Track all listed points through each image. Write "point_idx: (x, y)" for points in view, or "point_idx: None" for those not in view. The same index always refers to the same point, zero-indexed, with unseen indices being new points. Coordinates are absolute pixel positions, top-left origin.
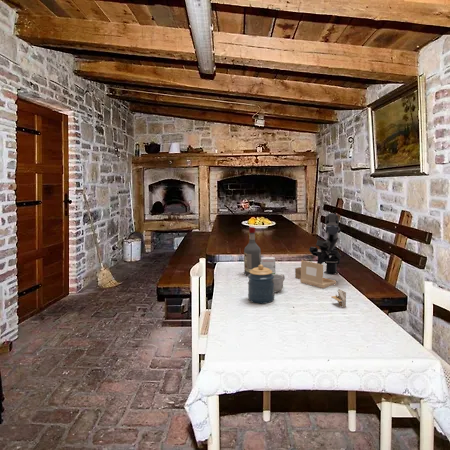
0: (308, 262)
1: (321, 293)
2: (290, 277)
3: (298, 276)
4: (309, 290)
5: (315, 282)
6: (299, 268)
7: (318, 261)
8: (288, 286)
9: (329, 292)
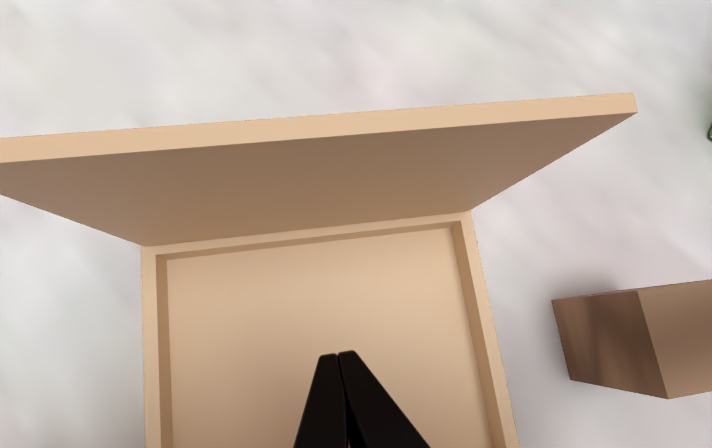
0: (419, 117)
1: (53, 122)
2: (655, 260)
3: (595, 294)
4: (199, 102)
5: (342, 326)
6: (695, 321)
7: (357, 408)
8: (407, 43)
9: (14, 208)
